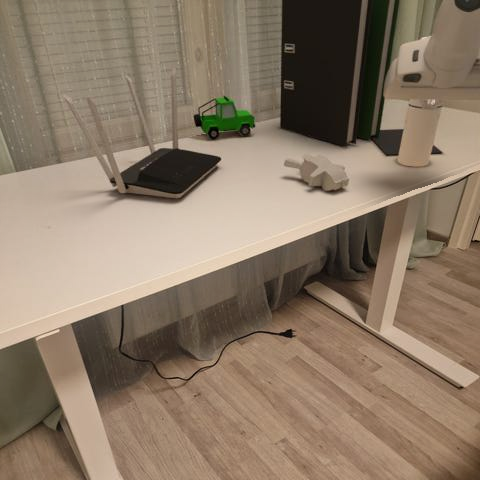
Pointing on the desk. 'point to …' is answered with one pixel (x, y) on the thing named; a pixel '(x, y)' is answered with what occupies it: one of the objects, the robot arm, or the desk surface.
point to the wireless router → (151, 157)
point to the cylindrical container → (418, 134)
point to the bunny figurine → (320, 172)
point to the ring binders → (335, 67)
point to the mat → (393, 142)
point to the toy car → (224, 119)
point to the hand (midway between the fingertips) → (428, 106)
